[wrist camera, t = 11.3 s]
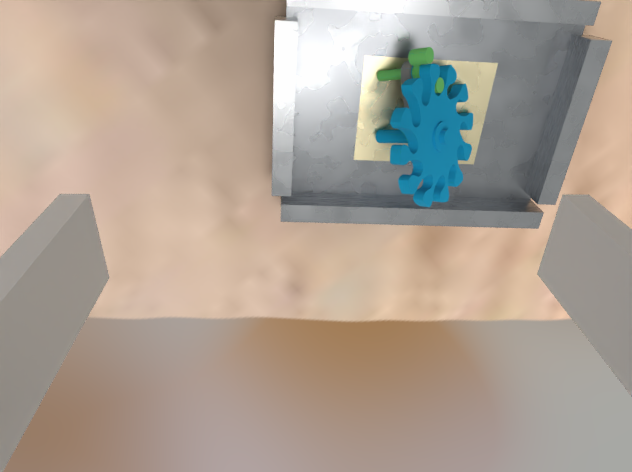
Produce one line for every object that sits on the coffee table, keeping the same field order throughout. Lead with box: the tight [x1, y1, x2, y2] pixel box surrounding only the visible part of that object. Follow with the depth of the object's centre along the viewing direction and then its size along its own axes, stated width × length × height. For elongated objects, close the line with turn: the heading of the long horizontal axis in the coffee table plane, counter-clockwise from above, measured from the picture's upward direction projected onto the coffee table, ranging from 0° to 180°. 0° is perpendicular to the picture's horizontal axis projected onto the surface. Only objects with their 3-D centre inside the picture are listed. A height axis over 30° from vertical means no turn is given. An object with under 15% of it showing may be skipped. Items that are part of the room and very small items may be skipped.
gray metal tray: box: [272, 0, 612, 229], centre depth 37 cm, size 17×23×4 cm
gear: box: [376, 47, 473, 207], centre depth 35 cm, size 11×6×10 cm
